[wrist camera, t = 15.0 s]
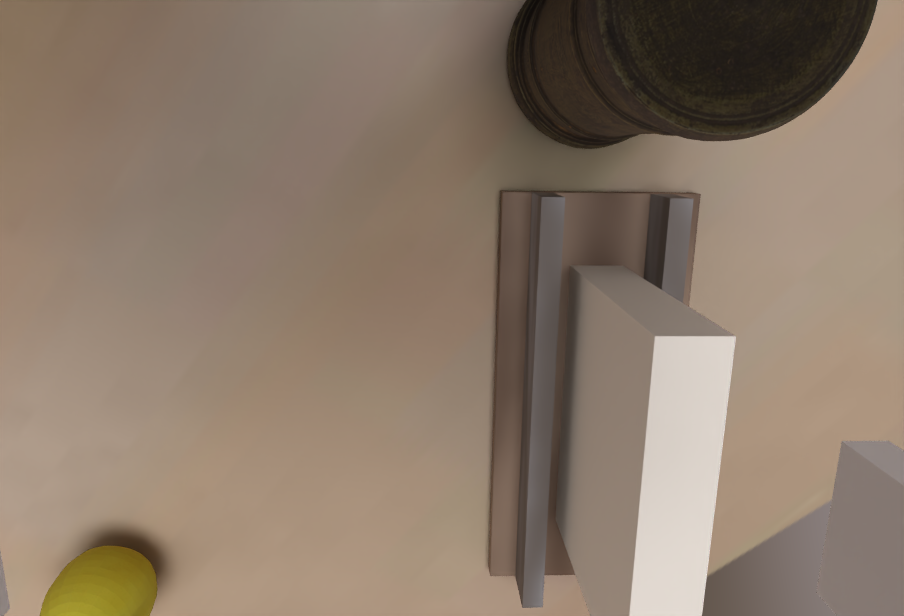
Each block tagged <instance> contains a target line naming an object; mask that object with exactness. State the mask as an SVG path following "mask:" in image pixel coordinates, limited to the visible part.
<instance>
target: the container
mask: <svg viewBox="0 0 904 616" xmlns="http://www.w3.org/2000/svg"><path fill="white" fill-rule="evenodd" d="M877 1H878V0H527V1H526V2H525V3H524V5H523V6H522V8H521V10H520V11H519V13H518V15H517V17H516V20H515V22H514V25H513V28H512V31H511V35H510V39H509V45H508V56H507V60H508V73H509V79H510V83H511V87H512V90H513V93H514V96H515V98H516V100H517V102H518V104H519V106H520V108H521V109H522V111H523V112H524V114H525V115H526V116H527V118H528V119H529V120H530V121H531V122H532V123H533V124H534V125H535V126H536V127H537V128H538V129H539V130H540V131H542V132H543V133H544V134H546V135H547V136H549V137H550V138H552V139H554V140H556V141H558V142H560V143H563V144H566V145H569V146H572V147H576V148H584V149H593V148H601V147H606V146H609V145H613V144H616V143H619V142H622V141H624V140H626V139H628V138H630V137H633V136H637V135H639V134H654V133H655V134H661V135H671V136H680V137H683V138H687V139H693V140H701V141H729V140H739V139H745V138H749V137H753V136H756V135H759V134H762V133H766V132H768V131H771V130H774V129H776V128H778V127H780V126H782V125H784V124H786V123H788V122H790V121H791V120H793V119H795V118H796V117H798V116H799V115H801V114H803V113H804V112H805V111H807V110H808V109H809V108H811V107H812V106H813V105H814V104H816V103H817V102H818V101H819V100H820V99H821V98H822V97H824V96H825V95H826V94H827V93H828V92H829V91H830V90H831V88H832V87H833V86H834V85H835V84H836V83H837V82H838V80H839V79H840V78H841V77H842V76H843V74H844V73H845V72H846V70H847V69H848V68H849V66H850V65H851V63H852V62H853V60H854V59H855V57H856V55H857V54H858V52H859V50H860V48H861V46H862V44H863V42H864V40H865V38H866V36H867V33H868V31H869V28H870V26H871V23H872V20H873V16H874V13H875V9H876V5H877Z"/></svg>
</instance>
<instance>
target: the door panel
mask: <svg viewBox="0 0 904 616" xmlns="http://www.w3.org/2000/svg"><path fill="white" fill-rule="evenodd" d="M735 340H736V336H735V335H733V334H731V333H730V332H728V331H727V330H725V329H723V328H722V327H720V326H719V325H717V324H715V323H714V322H712V321H711V320H709V319H707V318H706V317H704V316H703V315H701V314H699V313H698V312H696V311H695V310H693V309H691V308H690V307H688V306H687V305H685V304H683V303H682V302H680V301H679V300H677V299H675V298H674V297H672V296H671V295H669V294H667V293H666V292H664V291H663V290H661V289H659V288H658V287H656V286H655V285H653V284H651V283H650V282H648V281H647V280H645V279H643V278H642V277H640V276H639V275H637V274H635V273H634V272H632V271H631V270H629V269H627V268H626V267H624V266H578V265H570V281H569V298H568V315H567V332H566V349H565V366H564V383H563V401H562V418H561V435H560V452H559V469H558V486H557V503H556V522H557V525H558V528H559V530H560V533H561V536H562V539H563V541H564V544H565V547H566V550H567V553H568V555H569V558H570V561H571V564H572V566H573V569H574V572H575V575H576V577H577V580H578V583H579V586H580V589H581V591H582V594H583V597H584V600H585V602H586V605H587V608H588V611H589V613H590V616H702V609H703V601H704V593H705V585H706V577H707V569H708V561H709V552H710V544H711V536H712V528H713V520H714V511H715V503H716V495H717V487H718V479H719V471H720V462H721V454H722V446H723V438H724V430H725V422H726V413H727V405H728V397H729V389H730V381H731V373H732V364H733V356H734V348H735Z"/></svg>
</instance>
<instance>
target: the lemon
mask: <svg viewBox="0 0 904 616" xmlns="http://www.w3.org/2000/svg"><path fill="white" fill-rule="evenodd" d="M156 595H157V581H156V573H155V571H154V569H153V567H152V565H151V563H150V561H149V560H148V559H146V558H145V557H144V556H143V555H142V554H141V553H139V552H137V551H135V550H133V549H129V548H125V547H121V546H107V545H106V546H101V547H96V548H92V549H89V550H87V551H86V552H84V553H82V554H81V555H80V556H78V557H77V558H75V559H74V560H72V561H71V562H70V563H69V564H68V565H67V566H66V567H65V568H64V569H63V570H62V572H61V573H60V574H59V576H58V577H57V578H56V580H55V581H54V583H53V584H52V585H51V587H50V588H49V590H48V592H47V594H46V596H45V599H44V602H43V605H42V609H41V612H40V616H149V615H150V613H151V611H152V608H153V605H154V602H155V599H156Z"/></svg>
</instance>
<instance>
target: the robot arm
mask: <svg viewBox="0 0 904 616" xmlns="http://www.w3.org/2000/svg"><path fill="white" fill-rule="evenodd" d="M816 593H817V594H818V595H819V596H820V597H821V598H822V600H823V601H824V602H825V603H826V604H827V605H828V606H829V607H830V609H831V610H832V611H833V612H834V613H835V614H836V616H904V450H902V449H900V448H899V447H897V446H896V445H894V444H893V443H891V442H890V441H842V443H841V449H840V455H839V461H838V467H837V473H836V478H835V484H834V490H833V496H832V502H831V508H830V514H829V520H828V526H827V532H826V538H825V544H824V550H823V556H822V562H821V567H820V573H819V579H818V586H817V592H816ZM9 609H10V605H9V599H8V593H7V588H6V582H5V576H4V570H3V564H2V558H1V552H0V616H4V615H5V613H6V612H7V611H8V610H9Z"/></svg>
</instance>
